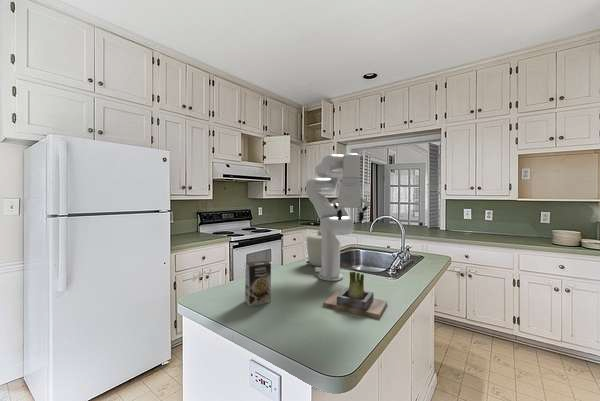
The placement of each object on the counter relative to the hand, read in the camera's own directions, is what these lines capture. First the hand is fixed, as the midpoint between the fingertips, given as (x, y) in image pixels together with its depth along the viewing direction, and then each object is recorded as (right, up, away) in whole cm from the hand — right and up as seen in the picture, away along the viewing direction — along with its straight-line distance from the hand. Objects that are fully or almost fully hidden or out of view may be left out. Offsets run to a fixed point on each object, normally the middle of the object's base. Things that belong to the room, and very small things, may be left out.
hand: (350, 220), depth 128 cm
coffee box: (-39, -33, -10) cm, 52 cm away
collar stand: (0, -33, -13) cm, 36 cm away
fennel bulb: (0, -32, -13) cm, 34 cm away
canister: (-10, -30, +47) cm, 56 cm away
